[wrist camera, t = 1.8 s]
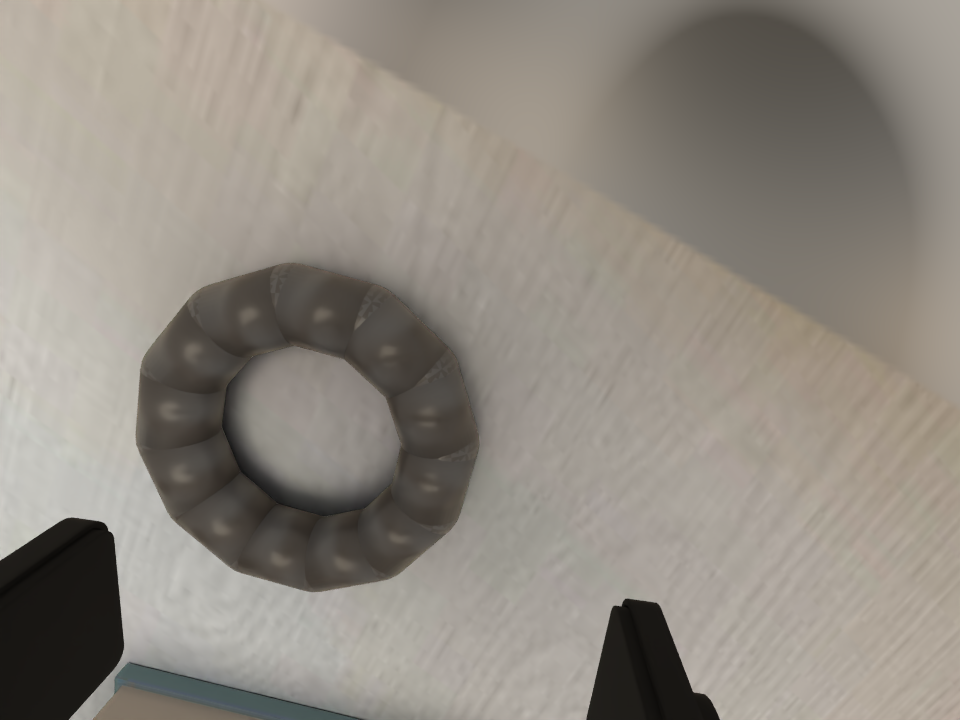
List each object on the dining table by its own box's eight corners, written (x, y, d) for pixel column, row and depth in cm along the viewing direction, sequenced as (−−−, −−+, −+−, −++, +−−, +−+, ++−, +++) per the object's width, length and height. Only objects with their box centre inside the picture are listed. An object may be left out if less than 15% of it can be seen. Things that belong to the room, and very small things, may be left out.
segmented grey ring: (186, 225, 16) (129, 226, 13) (515, 316, 16) (514, 332, 13) (159, 513, 19) (109, 554, 16) (436, 590, 19) (424, 642, 16)
